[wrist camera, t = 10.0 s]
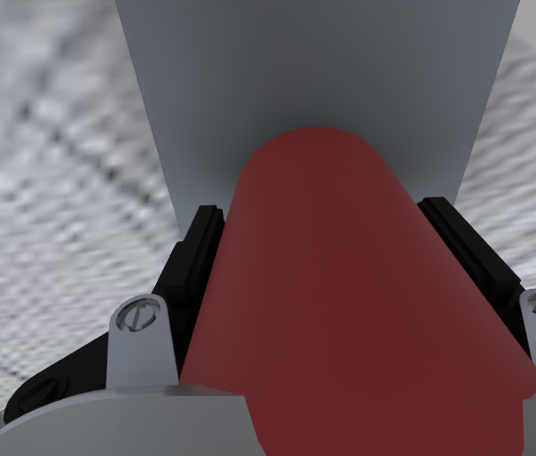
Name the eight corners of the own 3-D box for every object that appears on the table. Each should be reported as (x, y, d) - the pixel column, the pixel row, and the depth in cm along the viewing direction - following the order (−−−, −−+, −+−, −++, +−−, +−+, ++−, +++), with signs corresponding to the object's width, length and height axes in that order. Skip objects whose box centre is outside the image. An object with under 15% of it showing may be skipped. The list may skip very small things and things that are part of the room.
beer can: (421, 169, 12) (994, 776, 2) (329, 272, 16) (408, 696, 6) (281, 87, 11) (254, 826, 1) (213, 221, 14) (51, 678, 4)
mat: (122, -9, 11) (112, -11, 10) (520, -46, 10) (536, -51, 9) (203, 293, 20) (200, 302, 19) (417, 290, 19) (422, 300, 18)
